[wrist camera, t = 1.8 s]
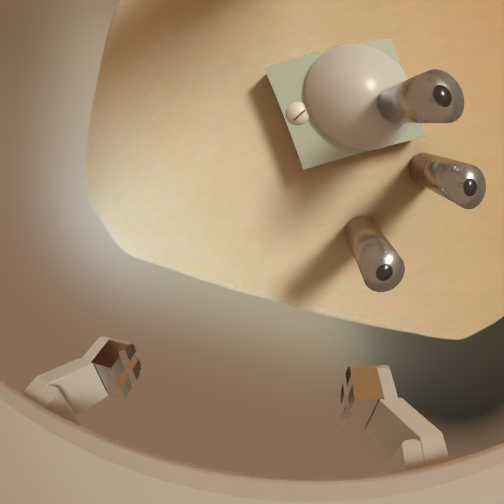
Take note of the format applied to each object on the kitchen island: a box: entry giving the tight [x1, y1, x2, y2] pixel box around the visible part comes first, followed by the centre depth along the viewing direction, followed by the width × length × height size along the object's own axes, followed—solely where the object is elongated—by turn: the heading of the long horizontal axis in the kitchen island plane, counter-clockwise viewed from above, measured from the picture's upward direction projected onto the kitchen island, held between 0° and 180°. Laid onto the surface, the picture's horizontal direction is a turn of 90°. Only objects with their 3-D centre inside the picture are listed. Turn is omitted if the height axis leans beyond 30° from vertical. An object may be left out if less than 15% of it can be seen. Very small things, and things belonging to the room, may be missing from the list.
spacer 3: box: [410, 153, 486, 209], centre depth 27 cm, size 4×4×12 cm
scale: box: [264, 38, 425, 170], centre depth 29 cm, size 13×16×4 cm
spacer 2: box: [378, 70, 464, 124], centre depth 21 cm, size 4×4×12 cm
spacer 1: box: [345, 216, 405, 292], centre depth 32 cm, size 4×4×12 cm
